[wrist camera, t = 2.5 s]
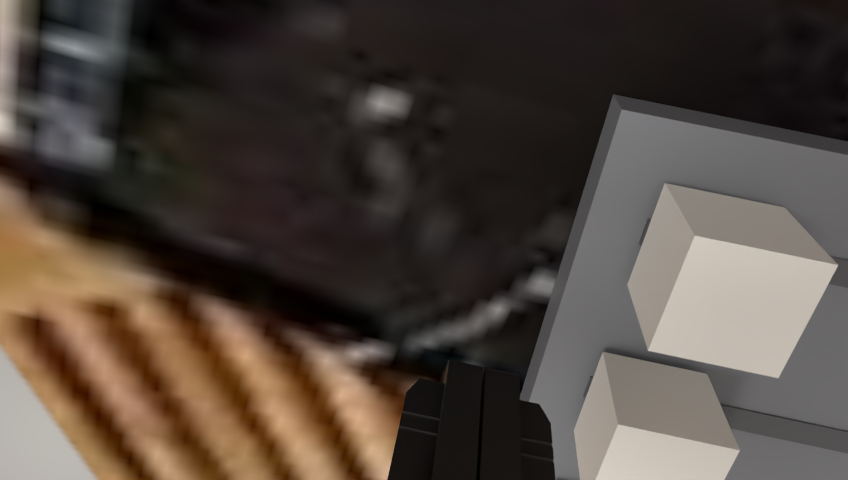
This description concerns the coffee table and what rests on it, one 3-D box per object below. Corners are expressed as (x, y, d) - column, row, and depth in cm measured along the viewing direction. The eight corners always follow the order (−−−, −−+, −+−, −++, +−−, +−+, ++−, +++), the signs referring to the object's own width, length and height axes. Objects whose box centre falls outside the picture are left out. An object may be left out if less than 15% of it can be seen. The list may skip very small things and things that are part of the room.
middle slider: (602, 351, 25) (617, 424, 22) (707, 373, 25) (739, 450, 21) (574, 429, 27) (583, 509, 23) (670, 450, 27) (695, 533, 23)
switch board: (613, 94, 23) (622, 110, 21) (1072, 186, 23) (1122, 211, 21) (481, 521, 33) (479, 558, 31) (798, 591, 33) (815, 632, 31)
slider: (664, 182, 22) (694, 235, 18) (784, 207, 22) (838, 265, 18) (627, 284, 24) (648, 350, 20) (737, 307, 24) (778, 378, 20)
